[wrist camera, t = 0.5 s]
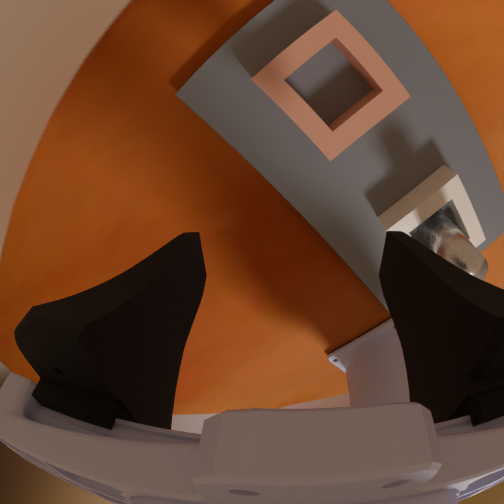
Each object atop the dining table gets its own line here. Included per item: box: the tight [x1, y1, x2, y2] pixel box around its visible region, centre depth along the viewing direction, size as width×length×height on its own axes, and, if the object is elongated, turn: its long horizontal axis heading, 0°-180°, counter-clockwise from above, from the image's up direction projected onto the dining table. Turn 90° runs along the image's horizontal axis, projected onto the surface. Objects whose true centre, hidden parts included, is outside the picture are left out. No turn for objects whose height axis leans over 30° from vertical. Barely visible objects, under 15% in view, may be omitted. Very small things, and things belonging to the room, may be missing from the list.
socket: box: [251, 10, 411, 161], centre depth 14 cm, size 6×6×2 cm
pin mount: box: [378, 165, 486, 249], centre depth 18 cm, size 6×6×2 cm
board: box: [175, 0, 504, 313], centre depth 17 cm, size 24×14×1 cm, turn 45°
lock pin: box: [417, 209, 488, 280], centre depth 16 cm, size 2×2×6 cm
